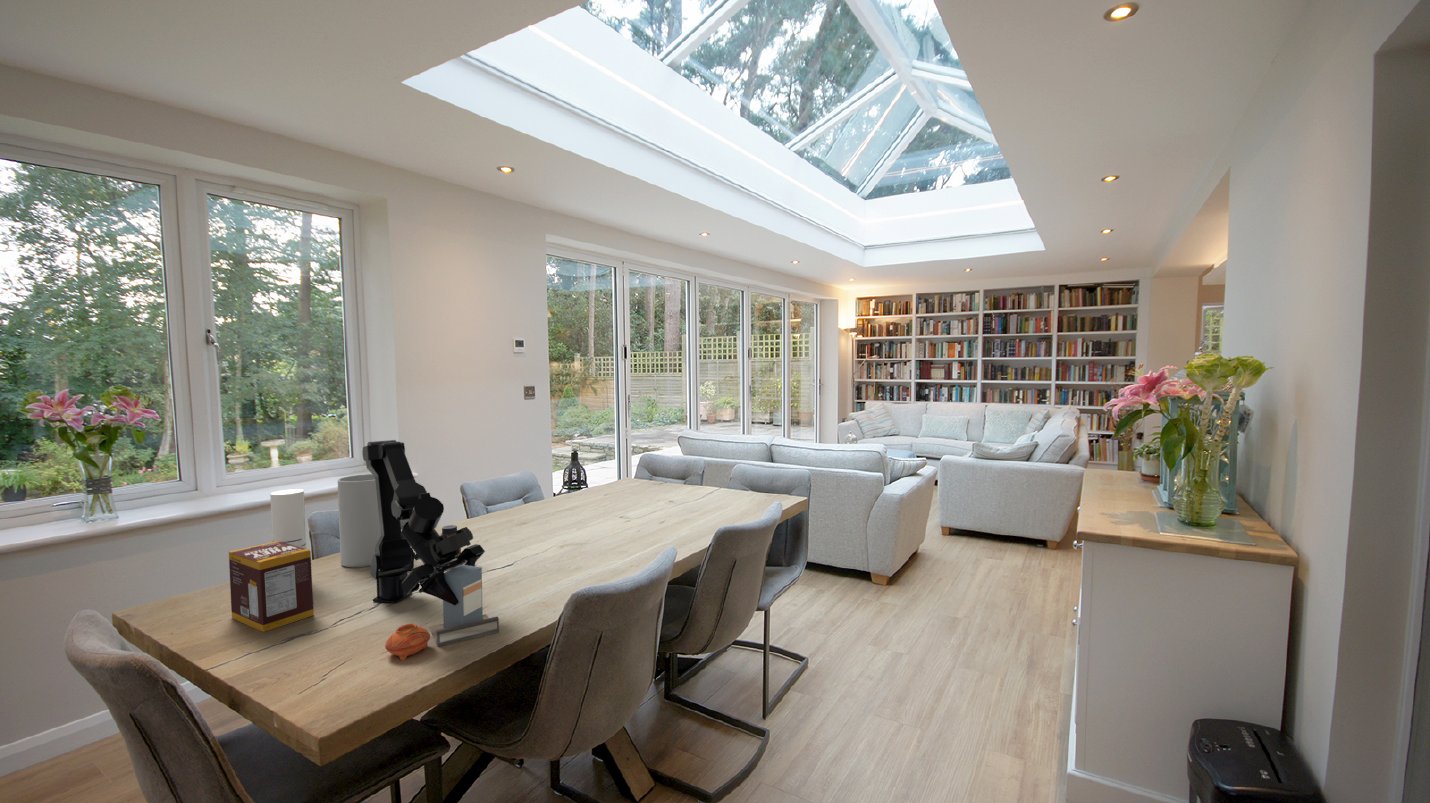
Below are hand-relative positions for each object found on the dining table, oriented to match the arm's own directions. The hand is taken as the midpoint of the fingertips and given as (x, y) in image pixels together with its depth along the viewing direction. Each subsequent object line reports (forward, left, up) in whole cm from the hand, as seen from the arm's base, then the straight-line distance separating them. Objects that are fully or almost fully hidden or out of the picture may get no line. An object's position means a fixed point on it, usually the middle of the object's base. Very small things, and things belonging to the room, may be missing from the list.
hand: (468, 598), depth 127 cm
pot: (-7, -10, -8) cm, 15 cm away
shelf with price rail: (-1, 0, -8) cm, 8 cm away
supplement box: (-50, +3, -8) cm, 51 cm away
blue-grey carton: (-1, 0, -6) cm, 6 cm away
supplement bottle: (-30, +42, -8) cm, 53 cm away
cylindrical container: (-62, +21, -8) cm, 66 cm away
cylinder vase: (-57, +42, -8) cm, 72 cm away
